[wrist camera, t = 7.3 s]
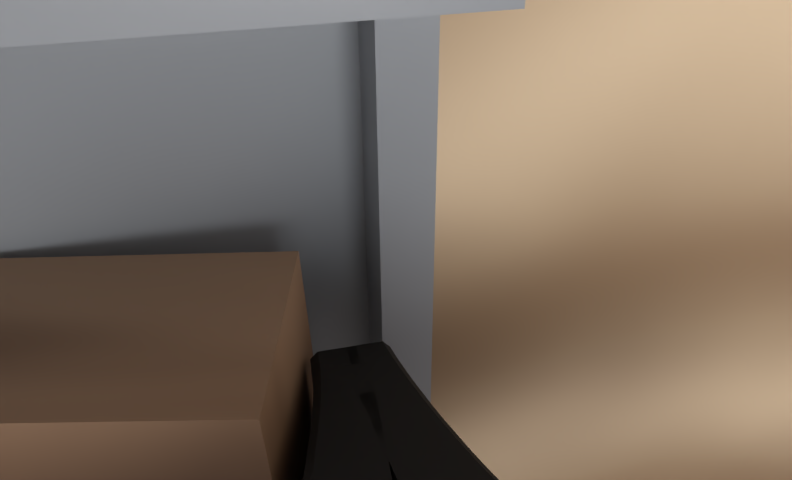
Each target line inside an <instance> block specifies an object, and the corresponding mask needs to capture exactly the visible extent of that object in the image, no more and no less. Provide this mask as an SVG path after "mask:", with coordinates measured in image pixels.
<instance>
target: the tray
mask: <svg viewBox="0 0 792 480" xmlns="http://www.w3.org/2000/svg"><path fill="white" fill-rule="evenodd" d="M514 9H525V0H0V258H30V257H71V256H113V255H155V254H197V253H239V252H281V251H299V257H300V265H301V272H302V279H303V286H304V293H305V300H306V308H307V315H308V322H309V329H310V336H311V344H312V351H313V356H314V355H315V354H316V353H317V352H318V351H325V350H331V349H337V348H343V347H350V346H356V345H362V344H368V343H374V342H381V341H383V342H384V343H386V344H387V345H389V346H390V347H391V349H392V350H393V352H394V354H395V355H396V357H397V358H398V360H399V361H400V363H401V364H402V365H403V367H404V368H405V370H406V371H407V373H408V374H409V375H410V377H411V378H412V379H413V381H414V382H415V383H416V385H417V386H418V387H419V389H420V390H421V391H422V393H423V394H424V395H425V396H426V398H427V399H428V400H429V401H430V403H431V365H432V325H433V285H434V244H435V204H436V164H437V123H438V83H439V43H440V15H447V14H461V13H474V12H487V11H501V10H514Z"/></svg>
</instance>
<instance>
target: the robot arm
mask: <svg viewBox="0 0 792 480" xmlns="http://www.w3.org/2000/svg"><path fill="white" fill-rule="evenodd" d="M310 363H311V373H312V383H313V406H312V418H311V429H310V436H309V442H308V449H307V456H306V463H305V469H304V475H303V480H499V479H498V478H497V477H496V476H495V475H494V474H493V473H492V472H491V471H490V470H489V469H488V468H487V467H486V466H485V465H484V464H483V463H482V462H481V461H480V459H479V458H478V457H477V456H476V455H475V454H474V453H473V452H472V451H471V450H470V448H469V447H468V446H467V445H466V444H465V443H464V442H463V440H462V439H461V438H460V437H459V436H458V435H457V434H456V432H455V431H454V430H453V429H452V428H451V427H450V426H449V424H448V423H447V422H446V421H445V420H444V419H443V417H442V416H441V415H440V414H439V413H438V411H437V410H436V409H435V408H434V407H433V405H432V404H431V403H430V401H429V400H428V399H427V398H426V396H425V395H424V394H423V393H422V391H421V390H420V389H419V387H418V386H417V385H416V383H415V382H414V381H413V379H412V378H411V377H410V375H409V374H408V373H407V371H406V370H405V368H404V367H403V365H402V364H401V363H400V361H399V360H398V358H397V357H396V355H395V354H394V352H393V350H392V349H391V347H390V346H389V345H387V344H386V343H384V342H383V341H381V342H374V343H368V344H362V345H356V346H350V347H343V348H337V349H331V350H325V351H318V352H317V353H316V354H315V355H314V356H313V357H312V358H311V359H310Z"/></svg>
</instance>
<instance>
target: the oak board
mask: <svg viewBox="0 0 792 480" xmlns="http://www.w3.org/2000/svg"><path fill="white" fill-rule="evenodd" d="M431 404H432V405H433V407H434V408H435V409H436V410H437V411H438V413H439V414H440V415H441V416H442V417H443V419H444V420H445V421H446V422H447V423H448V424H449V426H450V427H451V428H452V429H453V430H454V431H455V432H456V434H457V435H458V436H459V437H460V438H461V439H462V440H463V442H464V443H465V444H466V445H467V446H468V447H469V448H470V450H471V451H472V452H473V453H474V454H475V455H476V456H477V457H478V458H479V459H480V461H481V462H482V463H483V464H484V465H485V466H486V467H487V468H488V469H489V470H490V471H491V472H492V473H493V474H494V475H495V476H496V477H497V478H498V479H499V480H792V0H525V9H514V10H501V11H487V12H474V13H461V14H447V15H440V43H439V83H438V123H437V164H436V204H435V244H434V285H433V325H432V365H431Z"/></svg>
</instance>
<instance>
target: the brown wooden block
mask: <svg viewBox="0 0 792 480" xmlns="http://www.w3.org/2000/svg"><path fill="white" fill-rule="evenodd" d="M312 357H313V351H312V344H311V336H310V329H309V322H308V315H307V308H306V300H305V293H304V286H303V279H302V272H301V265H300V257H299V251H281V252H239V253H197V254H155V255H113V256H71V257H30V258H0V480H303V475H304V469H305V463H306V456H307V449H308V442H309V436H310V429H311V418H312V406H313V383H312V373H311V363H310V359H311V358H312Z"/></svg>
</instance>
